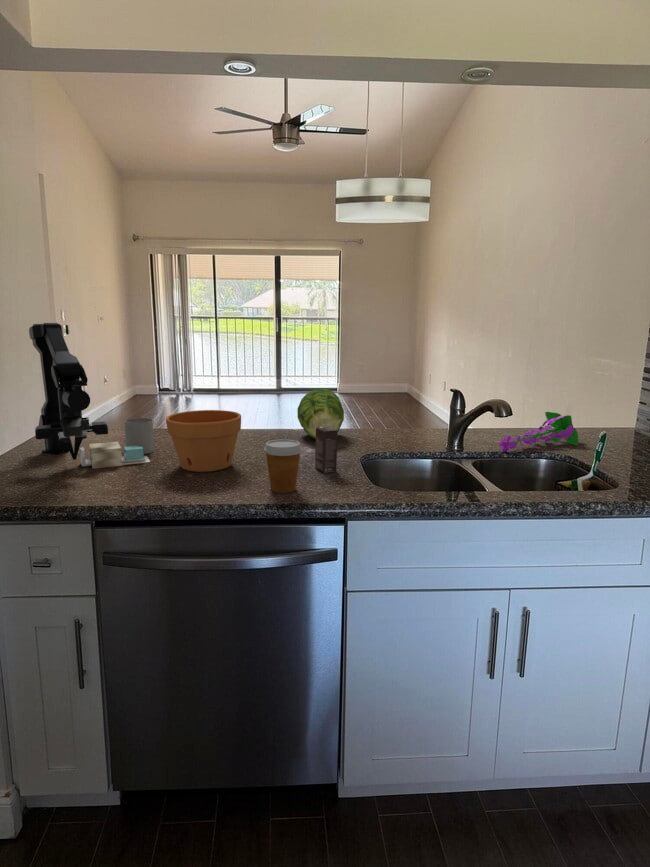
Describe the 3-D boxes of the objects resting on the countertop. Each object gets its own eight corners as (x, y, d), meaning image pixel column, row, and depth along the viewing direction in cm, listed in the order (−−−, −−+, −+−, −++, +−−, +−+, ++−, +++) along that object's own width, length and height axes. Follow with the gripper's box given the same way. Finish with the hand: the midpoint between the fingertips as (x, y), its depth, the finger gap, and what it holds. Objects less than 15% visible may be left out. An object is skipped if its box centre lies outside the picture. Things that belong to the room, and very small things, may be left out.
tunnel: (92, 468, 165) (91, 450, 164) (90, 461, 173) (89, 444, 172) (122, 465, 168) (121, 448, 167) (118, 458, 176) (117, 441, 175)
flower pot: (153, 471, 164) (150, 419, 160) (194, 453, 183) (192, 407, 180) (219, 479, 157) (217, 425, 153) (254, 460, 176) (253, 412, 173)
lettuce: (321, 463, 198) (289, 429, 192) (316, 436, 219) (287, 405, 213) (359, 432, 195) (328, 398, 189) (350, 408, 216) (322, 376, 210)
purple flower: (578, 453, 206) (514, 476, 187) (544, 424, 215) (480, 442, 196) (597, 427, 198) (532, 448, 179) (561, 397, 207) (495, 414, 188)
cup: (145, 455, 181) (144, 423, 178) (121, 453, 182) (119, 422, 180) (158, 448, 189) (157, 418, 186) (135, 447, 190) (133, 417, 188)
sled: (82, 466, 166) (80, 451, 165) (81, 462, 170) (80, 447, 169) (145, 460, 173) (144, 445, 172) (143, 456, 177) (142, 442, 176)
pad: (122, 464, 169) (122, 464, 169) (119, 459, 176) (119, 458, 175) (150, 462, 172) (150, 461, 172) (146, 456, 179) (146, 455, 179)
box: (337, 471, 165) (338, 429, 163) (323, 473, 163) (323, 431, 161) (328, 466, 170) (328, 425, 168) (314, 467, 168) (314, 427, 166)
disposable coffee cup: (271, 496, 143) (271, 449, 140) (259, 485, 151) (259, 440, 149) (307, 492, 146) (307, 445, 144) (294, 481, 155) (294, 437, 152)
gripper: (32, 412, 152) (37, 470, 156) (108, 408, 160) (111, 463, 163) (33, 406, 162) (38, 460, 166) (104, 402, 170) (108, 454, 173)
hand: (74, 459), depth 167 cm, fingers closed
